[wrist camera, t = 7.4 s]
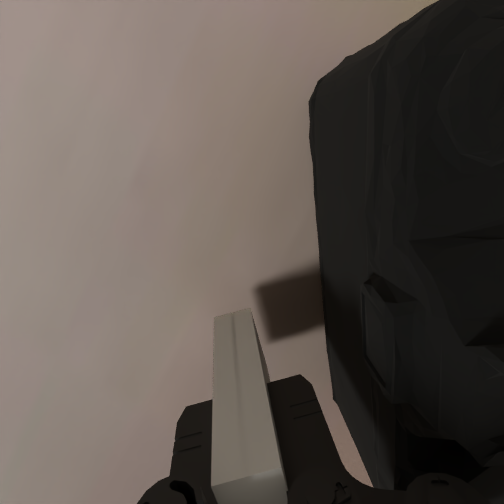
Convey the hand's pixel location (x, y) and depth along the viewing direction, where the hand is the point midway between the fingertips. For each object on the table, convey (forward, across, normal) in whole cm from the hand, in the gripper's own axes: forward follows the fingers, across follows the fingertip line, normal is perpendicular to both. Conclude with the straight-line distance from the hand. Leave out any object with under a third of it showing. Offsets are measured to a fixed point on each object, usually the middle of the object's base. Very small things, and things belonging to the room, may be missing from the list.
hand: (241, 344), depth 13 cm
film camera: (+2, -8, -1) cm, 8 cm away
